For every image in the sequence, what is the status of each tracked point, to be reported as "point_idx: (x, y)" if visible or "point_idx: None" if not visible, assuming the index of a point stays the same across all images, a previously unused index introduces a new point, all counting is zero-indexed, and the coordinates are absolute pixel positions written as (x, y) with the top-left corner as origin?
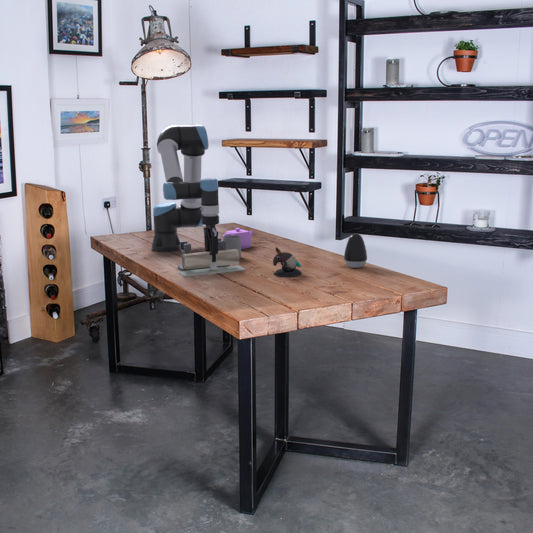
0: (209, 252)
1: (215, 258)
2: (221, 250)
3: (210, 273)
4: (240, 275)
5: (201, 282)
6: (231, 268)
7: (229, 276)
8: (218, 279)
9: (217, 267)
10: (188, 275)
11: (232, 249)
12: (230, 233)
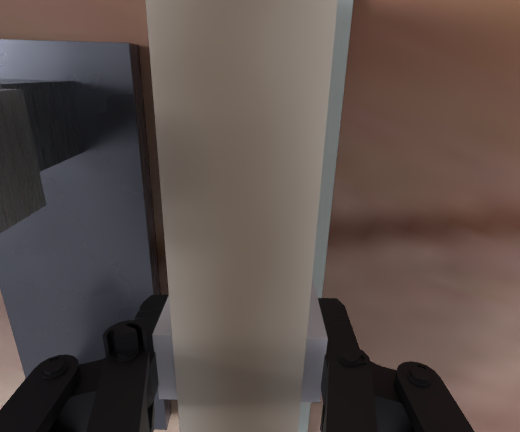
0: (238, 401)
1: (349, 327)
2: (170, 226)
3: (320, 289)
4: (514, 81)
5: (497, 394)
6: None
7: (479, 185)
8: (504, 287)
9: (148, 177)
10: (308, 419)
11: (159, 2)
12: None
